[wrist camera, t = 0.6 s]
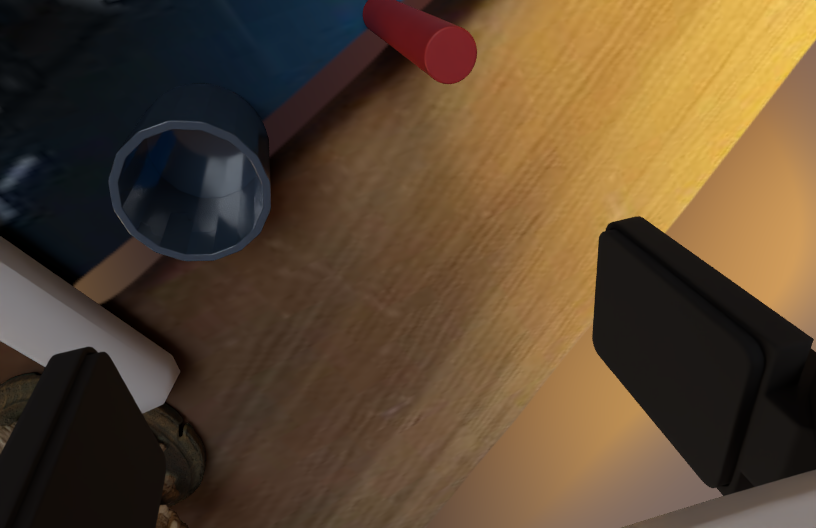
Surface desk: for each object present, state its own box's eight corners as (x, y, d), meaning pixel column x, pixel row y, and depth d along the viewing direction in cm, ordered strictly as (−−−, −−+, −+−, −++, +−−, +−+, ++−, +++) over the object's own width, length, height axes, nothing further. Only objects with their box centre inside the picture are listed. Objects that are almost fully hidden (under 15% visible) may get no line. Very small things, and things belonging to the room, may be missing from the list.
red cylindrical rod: (363, -7, 30) (427, 23, 19) (398, -3, 31) (481, 28, 19) (361, 31, 31) (421, 82, 20) (394, 34, 32) (472, 86, 20)
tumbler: (133, 79, 30) (96, 117, 23) (267, 86, 32) (269, 124, 25) (150, 199, 33) (122, 263, 27) (270, 199, 35) (272, 259, 28)
